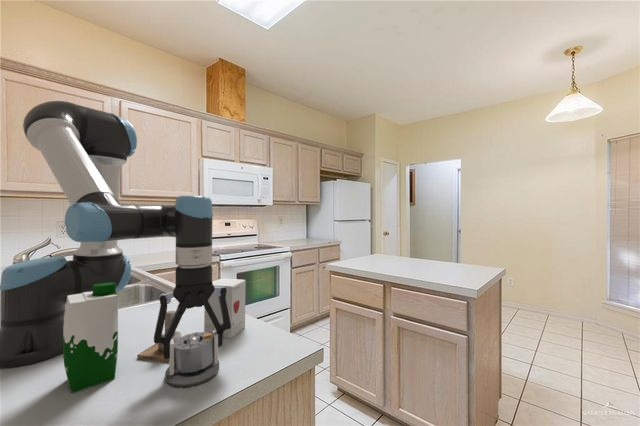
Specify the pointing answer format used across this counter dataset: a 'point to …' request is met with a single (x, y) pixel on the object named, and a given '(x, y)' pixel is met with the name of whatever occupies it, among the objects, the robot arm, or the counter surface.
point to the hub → (191, 373)
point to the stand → (158, 349)
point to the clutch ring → (193, 353)
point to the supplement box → (228, 306)
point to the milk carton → (91, 336)
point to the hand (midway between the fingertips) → (194, 366)
